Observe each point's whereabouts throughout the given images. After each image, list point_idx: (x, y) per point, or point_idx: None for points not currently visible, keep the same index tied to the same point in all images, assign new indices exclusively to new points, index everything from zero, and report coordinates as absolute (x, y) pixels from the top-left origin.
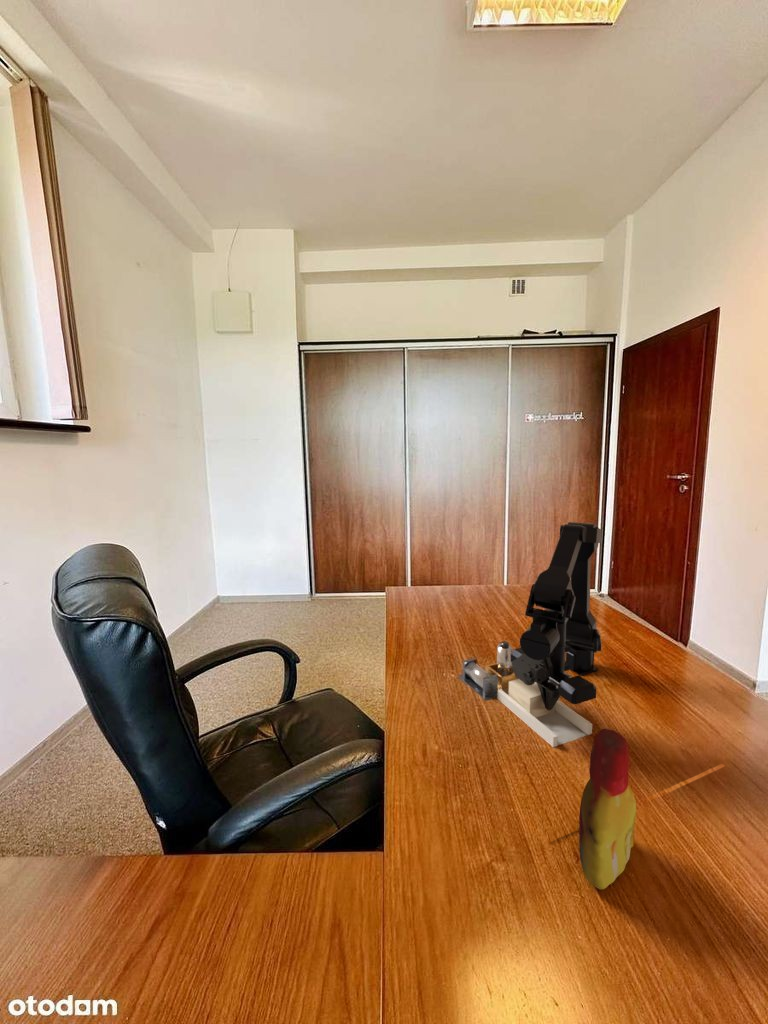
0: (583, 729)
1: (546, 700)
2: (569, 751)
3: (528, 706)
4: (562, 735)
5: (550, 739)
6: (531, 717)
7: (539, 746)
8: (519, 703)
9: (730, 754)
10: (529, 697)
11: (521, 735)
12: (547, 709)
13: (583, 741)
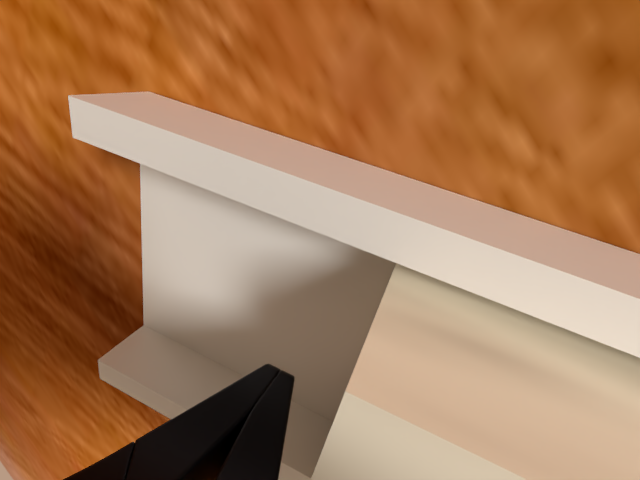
0: (158, 343)
1: (212, 433)
2: (111, 154)
3: (400, 312)
4: (188, 241)
5: (123, 100)
6: (317, 201)
7: (201, 35)
8: (554, 343)
9: (7, 441)
10: (360, 401)
11: (352, 21)
12: (269, 367)
13: (139, 276)
